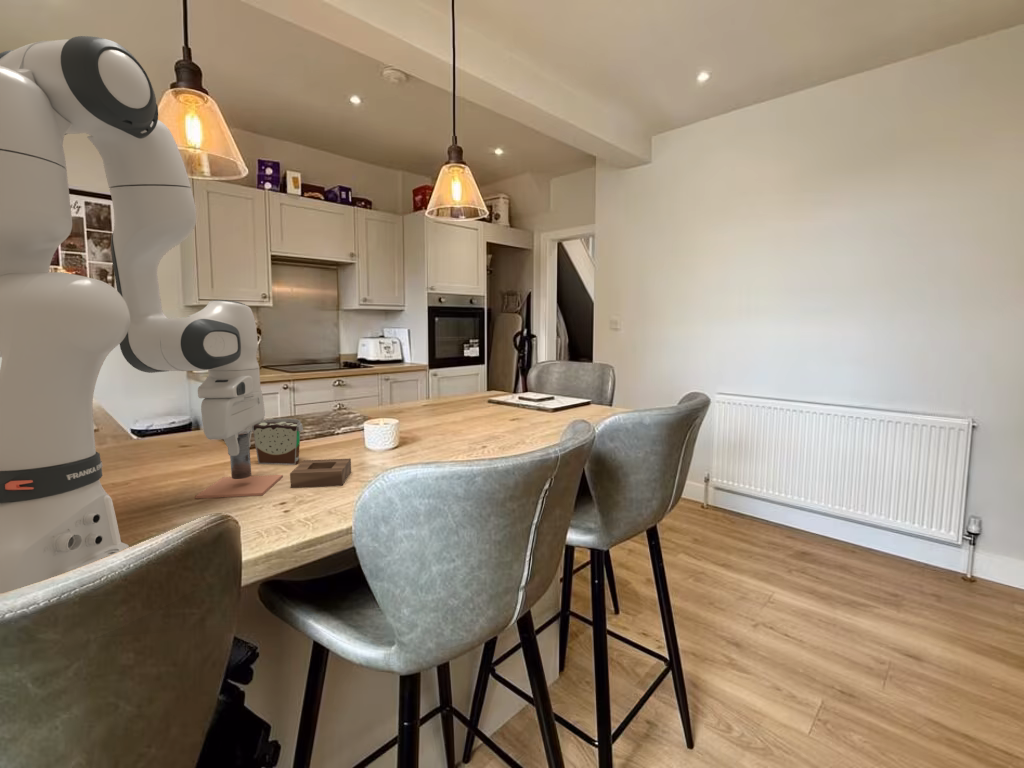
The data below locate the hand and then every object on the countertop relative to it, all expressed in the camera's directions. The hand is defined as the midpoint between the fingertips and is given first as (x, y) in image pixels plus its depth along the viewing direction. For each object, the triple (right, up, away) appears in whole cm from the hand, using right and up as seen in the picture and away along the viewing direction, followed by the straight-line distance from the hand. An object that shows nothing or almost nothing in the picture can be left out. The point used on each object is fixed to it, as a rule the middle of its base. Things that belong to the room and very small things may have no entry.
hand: (239, 451), depth 98 cm
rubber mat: (0, -7, +1) cm, 7 cm away
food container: (-1, -5, +21) cm, 21 cm away
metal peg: (0, -5, +1) cm, 5 cm away
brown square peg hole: (+14, -7, +6) cm, 17 cm away
